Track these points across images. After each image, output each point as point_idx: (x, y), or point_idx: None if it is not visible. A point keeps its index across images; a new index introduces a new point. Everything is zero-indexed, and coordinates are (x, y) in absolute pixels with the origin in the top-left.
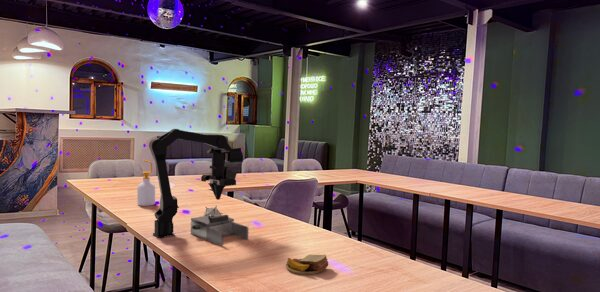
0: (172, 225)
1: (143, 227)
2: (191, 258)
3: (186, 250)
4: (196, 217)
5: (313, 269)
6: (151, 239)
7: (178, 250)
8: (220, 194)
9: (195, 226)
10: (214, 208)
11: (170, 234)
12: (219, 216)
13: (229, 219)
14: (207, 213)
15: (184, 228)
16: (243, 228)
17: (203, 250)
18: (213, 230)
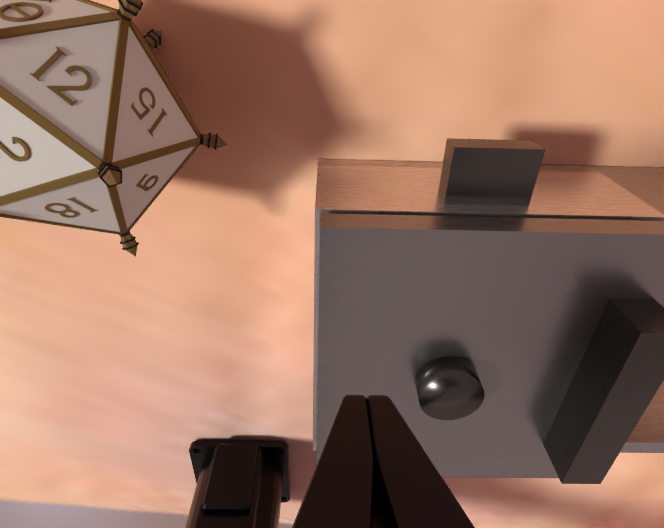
0: (253, 494)
1: (8, 472)
2: (657, 516)
3: (559, 493)
4: (318, 441)
5: None
6: (282, 515)
7: (527, 509)
8: (453, 522)
9: None
10: (116, 182)
11: (282, 462)
12: (622, 416)
13: (660, 285)
14: (103, 224)
15: (154, 341)
16: None
17: (635, 456)
18: (647, 448)
